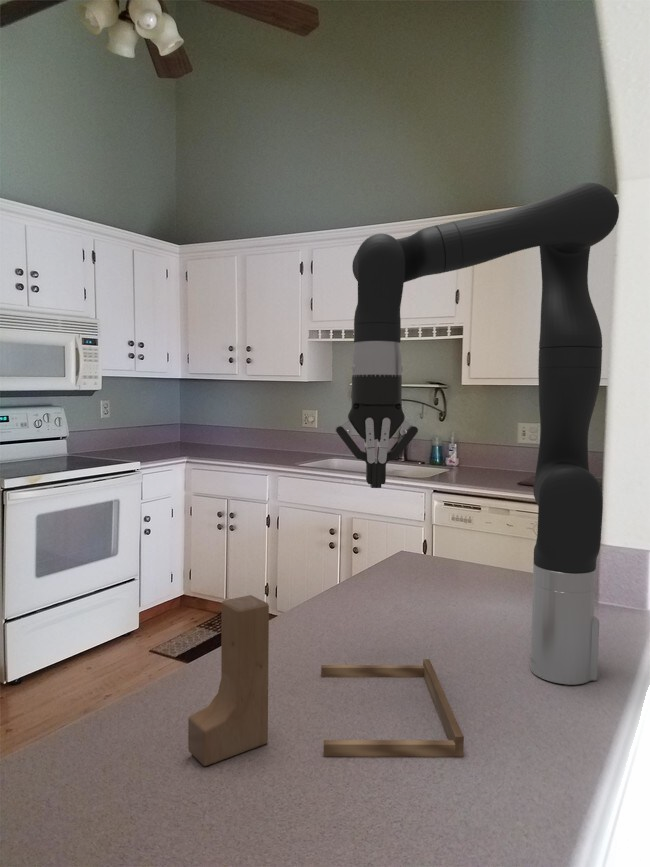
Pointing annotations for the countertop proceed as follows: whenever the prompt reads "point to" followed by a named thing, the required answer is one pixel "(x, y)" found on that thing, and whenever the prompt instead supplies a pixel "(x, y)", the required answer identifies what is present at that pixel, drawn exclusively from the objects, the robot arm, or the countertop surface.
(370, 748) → the frame
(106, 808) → the countertop surface
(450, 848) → the countertop surface
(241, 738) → the wooden block
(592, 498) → the robot arm
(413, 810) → the countertop surface
